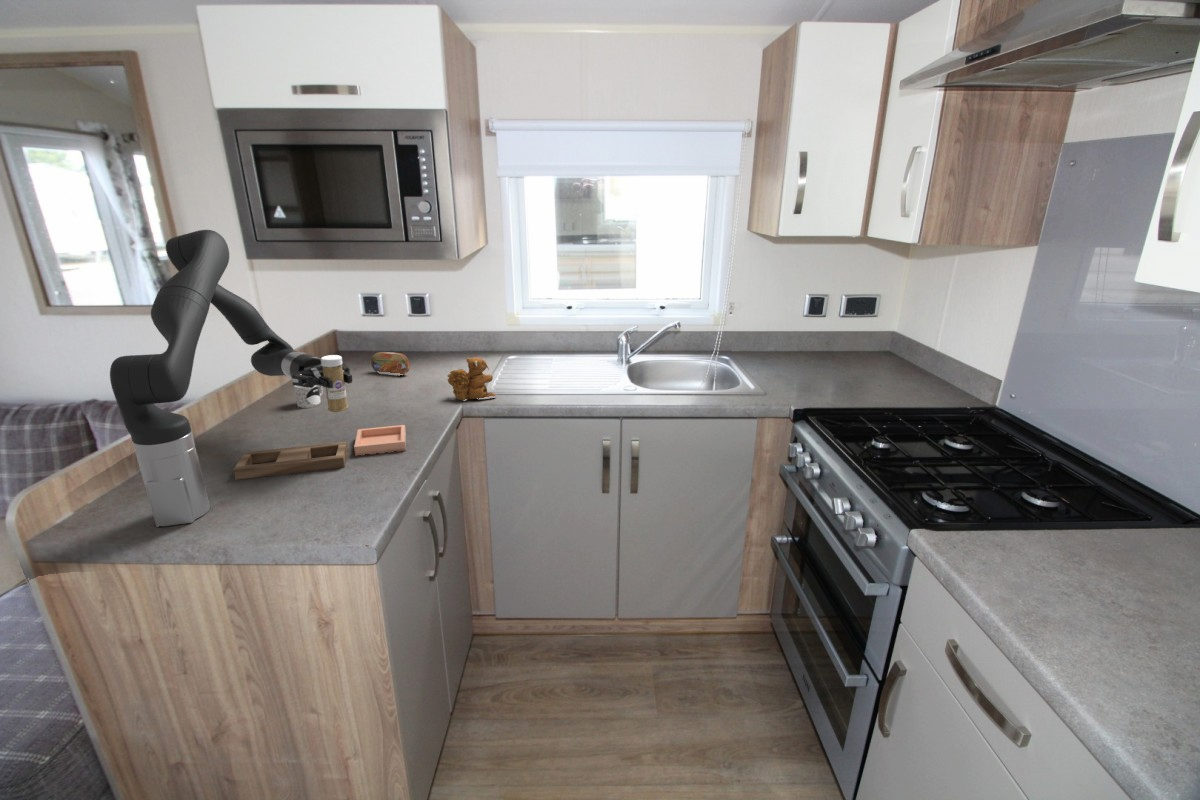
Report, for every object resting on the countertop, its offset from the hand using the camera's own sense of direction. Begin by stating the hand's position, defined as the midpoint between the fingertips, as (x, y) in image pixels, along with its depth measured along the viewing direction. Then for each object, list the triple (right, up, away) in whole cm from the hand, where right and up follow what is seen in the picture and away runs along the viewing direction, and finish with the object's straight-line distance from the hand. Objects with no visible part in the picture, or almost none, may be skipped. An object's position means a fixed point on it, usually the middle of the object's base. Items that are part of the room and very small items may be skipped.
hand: (340, 381), depth 136 cm
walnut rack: (-12, -20, +2) cm, 23 cm away
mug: (-29, -6, +44) cm, 53 cm away
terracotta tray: (+4, -16, +14) cm, 22 cm away
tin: (-15, +5, +74) cm, 75 cm away
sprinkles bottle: (-2, -7, +4) cm, 8 cm away
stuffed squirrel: (+20, -4, +50) cm, 54 cm away
